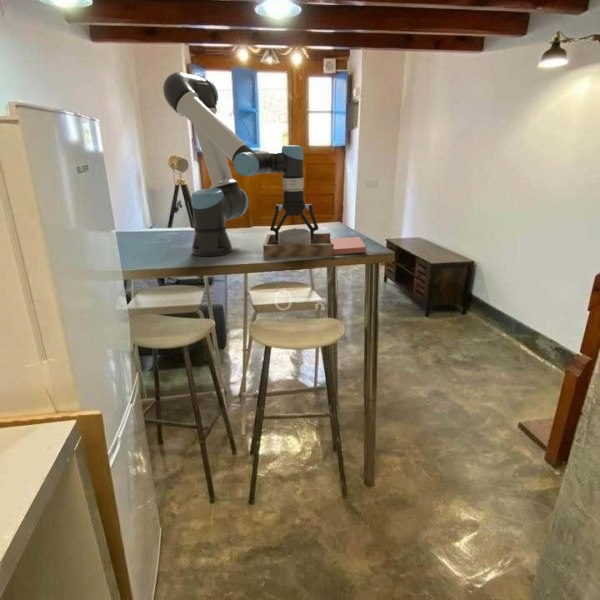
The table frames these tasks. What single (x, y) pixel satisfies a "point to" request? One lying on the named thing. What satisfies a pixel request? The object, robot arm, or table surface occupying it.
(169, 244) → the table surface
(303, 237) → the teacup
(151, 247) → the table surface
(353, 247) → the pink flat slab
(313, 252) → the crate
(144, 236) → the table surface
